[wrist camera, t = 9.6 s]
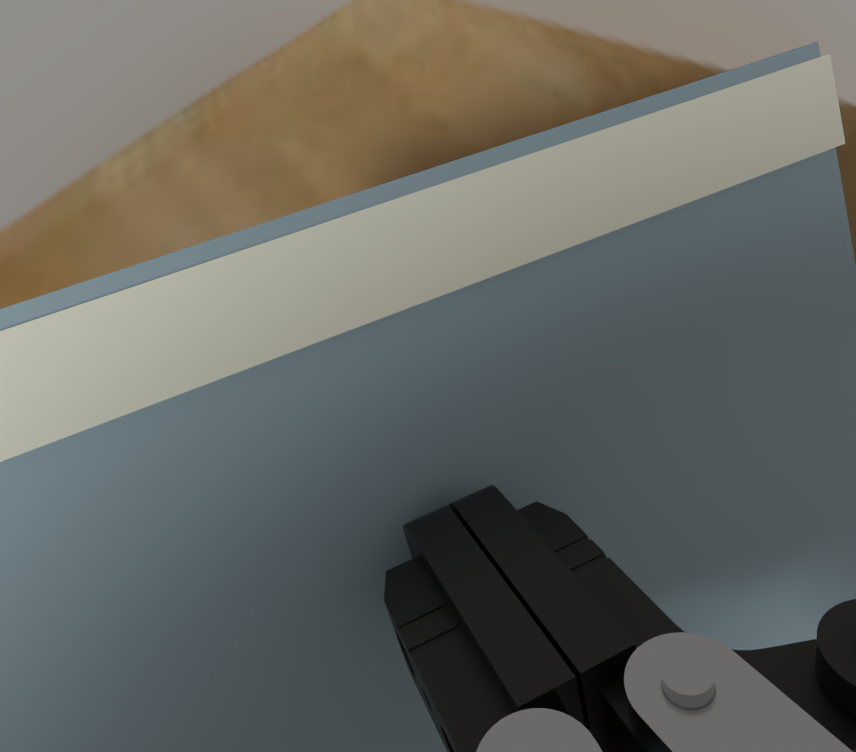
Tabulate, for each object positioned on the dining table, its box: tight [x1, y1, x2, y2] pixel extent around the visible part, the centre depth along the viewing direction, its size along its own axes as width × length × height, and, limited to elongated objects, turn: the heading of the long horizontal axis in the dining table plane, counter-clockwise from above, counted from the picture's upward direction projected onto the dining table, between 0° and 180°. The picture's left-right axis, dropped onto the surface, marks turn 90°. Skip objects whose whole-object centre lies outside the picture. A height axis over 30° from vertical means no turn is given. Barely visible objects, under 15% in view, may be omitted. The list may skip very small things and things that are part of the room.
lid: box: [0, 42, 856, 752], centre depth 12 cm, size 16×18×1 cm
